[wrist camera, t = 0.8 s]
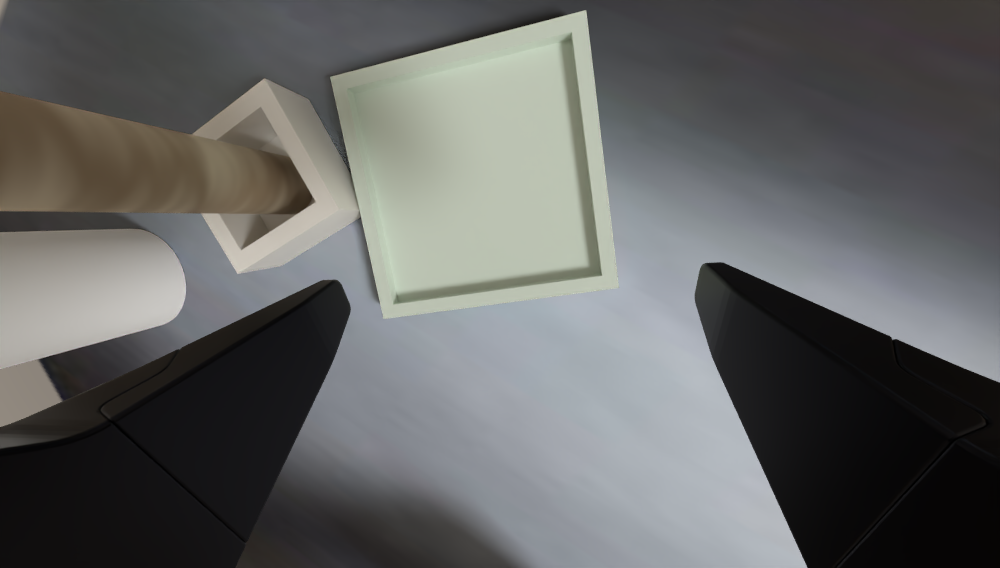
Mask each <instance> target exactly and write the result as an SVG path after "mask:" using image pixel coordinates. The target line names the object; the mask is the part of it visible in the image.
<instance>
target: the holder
mask: <svg viewBox="0 0 1000 568" xmlns="http://www.w3.org/2000/svg"><path fill="white" fill-rule="evenodd" d="M192 135H195V136H199V137H204V138H208V139H213V140H217V141H221V142H226V143H230V144H235V145H239V146H243V147H248V148H252V149H257V150H261V151H265V152H270V153H274V154H278V155H283V156H287V157H290V158H291V160H292V162H293V163H294V165H295V167H296V168H297V170H298V172H299V174H300V175H301V177H302V179H303V181H304V182H305V184H306V186H307V188H308V189H309V191H310V193H311V194H312V196H313V197H312V200H311V202H310V204H309V205H308V206H307V207H306V208H305V209H304V210H303V211H301V212H300V213H297V214H214V213H201V214H202V216H203V217H204V219H205V221H206V222H207V224H208V226H209V227H210V229H211V231H212V232H213V234H214V236H215V237H216V239H217V240H218V242H219V244H220V245H221V247H222V249H223V250H224V252H225V254H226V255H227V257H228V258H229V260H230V262H231V263H232V265H233V267H234V268H235V270H236V272H237V273H238V274H240V273H245V272H251V271H256V270H262V269H268V268H273V267H279V266H282V265H284V264H286V263H287V262H289V261H291V260H292V259H294V258H295V257H297V256H299V255H300V254H302V253H304V252H305V251H307V250H308V249H310V248H312V247H313V246H315V245H317V244H318V243H320V242H321V241H323V240H325V239H326V238H328V237H329V236H331V235H333V234H334V233H336V232H338V231H339V230H341V229H342V228H344V227H346V226H347V225H349V224H351V223H352V222H354V221H355V220H357V219H359V218H360V217H361V214H360V210H359V205H358V201H357V196H356V192H355V187H354V183H353V178H352V175H351V173H350V172H349V170H348V168H347V166H346V165H345V163H344V161H343V159H342V157H341V156H340V154H339V152H338V150H337V149H336V147H335V145H334V143H333V142H332V140H331V138H330V136H329V134H328V133H327V131H326V129H325V127H324V126H323V124H322V122H321V120H320V118H319V117H318V115H317V113H316V111H315V110H314V108H313V106H312V104H311V102H310V101H309V99H307V98H305V97H303V96H301V95H299V94H297V93H295V92H292V91H290V90H288V89H286V88H284V87H282V86H280V85H278V84H276V83H274V82H272V81H269V80H267V79H265V78H264V79H263V80H262V81H260V82H259V83H258V84H256V85H255V86H254V87H253V88H251V89H250V90H249V91H247V92H246V93H245V94H243V95H242V96H241V97H240V98H238V99H237V100H236V101H234V102H233V103H232V104H230V105H229V106H228V107H227V108H225V109H224V110H223V111H221V112H220V113H219V114H218V115H216V116H215V117H214V118H212V119H211V120H210V121H208V122H207V123H206V124H205V125H203V126H202V127H201V128H199V129H198V130H197V131H195V132H194V133H193V134H192Z"/></svg>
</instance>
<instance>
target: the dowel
mask: <svg viewBox="0 0 1000 568" xmlns="http://www.w3.org/2000/svg"><path fill="white" fill-rule="evenodd" d="M312 197H313V196H312V194H311V193H310V191H309V189H308V188H307V186H306V184H305V182H304V181H303V179H302V177H301V175H300V174H299V172H298V170H297V168H296V167H295V165H294V163H293V162H292V160H291V158H290V157H287V156H283V155H278V154H274V153H270V152H265V151H261V150H257V149H252V148H248V147H243V146H239V145H235V144H230V143H226V142H221V141H217V140H213V139H208V138H204V137H199V136H195V135H191V134H186V133H182V132H177V131H173V130H169V129H164V128H160V127H156V126H151V125H147V124H142V123H138V122H134V121H129V120H125V119H120V118H116V117H112V116H107V115H103V114H98V113H94V112H90V111H85V110H81V109H76V108H72V107H68V106H63V105H59V104H54V103H50V102H46V101H41V100H37V99H33V98H28V97H24V96H19V95H15V94H11V93H6V92H2V91H0V211H40V212H127V213H214V214H297V213H300V212H301V211H303V210H304V209H305V208H306V207H307V206H308V205H309V204H310V202H311V200H312Z"/></svg>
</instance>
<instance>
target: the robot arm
mask: <svg viewBox="0 0 1000 568" xmlns="http://www.w3.org/2000/svg"><path fill="white" fill-rule="evenodd" d="M695 303H696V307H697V310H698V313H699V316H700V320H701V323H702V326H703V329H704V333H705V336H706V339H707V343H708V346H709V349H710V352H711V355H712V358H713V360H714V363H715V365H716V367H717V370H718V372H719V374H720V376H721V378H722V381H723V383H724V385H725V387H726V389H727V392H728V394H729V396H730V398H731V400H732V403H733V405H734V407H735V409H736V411H737V414H738V416H739V418H740V420H741V422H742V425H743V427H744V429H745V431H746V433H747V436H748V438H749V440H750V442H751V444H752V447H753V449H754V451H755V453H756V455H757V458H758V460H759V462H760V464H761V466H762V469H763V471H764V473H765V475H766V477H767V480H768V482H769V484H770V486H771V488H772V491H773V493H774V495H775V497H776V499H777V502H778V504H779V506H780V508H781V510H782V513H783V515H784V517H785V519H786V521H787V524H788V526H789V528H790V530H791V532H792V535H793V537H794V539H795V541H796V543H797V546H798V548H799V550H800V552H801V554H802V557H803V559H804V561H805V563H806V565H807V568H1000V383H999V382H996V381H994V380H992V379H989V378H987V377H984V376H982V375H979V374H977V373H974V372H972V371H969V370H967V369H964V368H962V367H959V366H957V365H955V364H952V363H950V362H948V361H945V360H943V359H941V358H938V357H936V356H934V355H931V354H929V353H927V352H924V351H922V350H920V349H917V348H915V347H913V346H911V345H908V344H906V343H904V342H902V341H899V340H897V339H894V340H892V338H891V337H890V336H888V335H886V334H883V333H881V332H879V331H877V330H874V329H872V328H870V327H868V326H865V325H863V324H861V323H858V322H856V321H854V320H852V319H849V318H847V317H845V316H843V315H840V314H838V313H836V312H834V311H831V310H829V309H827V308H825V307H822V306H820V305H818V304H815V303H813V302H811V301H809V300H806V299H804V298H802V297H800V296H797V295H795V294H793V293H791V292H788V291H786V290H784V289H782V288H779V287H777V286H775V285H773V284H770V283H768V282H766V281H764V280H761V279H759V278H757V277H754V276H752V275H750V274H748V273H745V272H743V271H741V270H739V269H736V268H734V267H732V266H730V265H727V264H725V263H721V262H718V263H705V264H703V265H702V266H701V268H700V272H699V276H698V281H697V286H696V291H695ZM350 310H351V309H350V303H349V301H348V299H347V296H346V294H345V292H344V289H343V287H342V285H341V283H340V282H339V281H338V280H322V281H320V282H317V283H315V284H313V285H311V286H309V287H307V288H305V289H303V290H301V291H299V292H297V293H294V294H292V295H290V296H288V297H286V298H284V299H282V300H280V301H278V302H276V303H274V304H272V305H269V306H267V307H265V308H263V309H261V310H259V311H257V312H255V313H253V314H251V315H249V316H246V317H244V318H242V319H240V320H238V321H236V322H234V323H232V324H230V325H228V326H226V327H223V328H221V329H219V330H217V331H215V332H213V333H211V334H209V335H207V336H205V337H203V338H201V339H198V340H196V341H194V342H192V343H190V344H188V345H186V346H184V347H182V348H181V349H180V350H179V349H178V350H175V351H173V352H171V353H169V354H167V355H165V356H163V357H161V358H159V359H156V360H154V361H152V362H150V363H148V364H146V365H144V366H141V367H139V368H137V369H135V370H133V371H131V372H128V373H126V374H124V375H122V376H120V377H117V378H115V379H113V380H111V381H108V382H106V383H104V384H102V385H99V386H97V387H95V388H93V389H90V390H88V391H86V392H83V393H81V394H79V395H77V396H74V397H72V398H70V399H67V400H65V401H63V402H61V403H58V404H56V405H54V406H51V407H49V408H47V409H45V410H42V411H40V412H38V413H36V414H33V415H31V416H29V417H26V418H24V419H21V420H19V421H17V422H14V423H11V424H9V425H6V426H3V427H0V568H235V567H236V565H237V562H238V560H239V558H240V556H241V554H242V552H243V550H244V548H245V546H246V543H245V542H247V541H248V539H249V537H250V535H251V532H252V530H253V528H254V526H255V524H256V522H257V520H258V518H259V516H260V514H261V512H262V509H263V507H264V505H265V503H266V501H267V499H268V497H269V495H270V493H271V491H272V489H273V486H274V484H275V482H276V480H277V478H278V476H279V474H280V472H281V470H282V468H283V465H284V463H285V461H286V459H287V457H288V455H289V453H290V451H291V449H292V447H293V445H294V442H295V440H296V438H297V436H298V434H299V432H300V430H301V428H302V426H303V424H304V422H305V419H306V417H307V415H308V413H309V411H310V409H311V407H312V405H313V403H314V401H315V398H316V396H317V394H318V392H319V390H320V388H321V386H322V384H323V382H324V380H325V378H326V375H327V373H328V371H329V369H330V367H331V365H332V362H333V360H334V357H335V355H336V352H337V349H338V347H339V344H340V341H341V338H342V335H343V332H344V329H345V327H346V324H347V321H348V318H349V315H350Z"/></svg>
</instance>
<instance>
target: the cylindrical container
mask: <svg viewBox="0 0 1000 568" xmlns="http://www.w3.org/2000/svg"><path fill="white" fill-rule="evenodd" d="M185 296H186V281H185V275H184V272H183V268H182V266H181V264H180V261H179V259H178V258H177V256H176V254H175V253H174V251H173V250H172V249H171V248H170V247H169V246H168V244H167V243H166V242H164V241H163V240H162V239H161V238H159V237H158V236H156V235H154V234H152V233H151V232H148V231H145V230H142V229H102V230H65V231H29V232H0V369H4V368H7V367H11V366H15V365H18V364H22V363H26V362H29V361H33V360H37V359H40V358H44V357H48V356H51V355H55V354H59V353H62V352H66V351H69V350H73V349H77V348H80V347H84V346H88V345H91V344H95V343H99V342H102V341H106V340H110V339H113V338H117V337H121V336H124V335H128V334H131V333H135V332H139V331H142V330H146V329H150V328H153V327H157V326H161V325H163V324H166V323H168V322H170V321H171V320H173V319H174V318H175V317H176V316H177V315H178V314H179V312H180V310H181V309H182V307H183V304H184V301H185Z"/></svg>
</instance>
